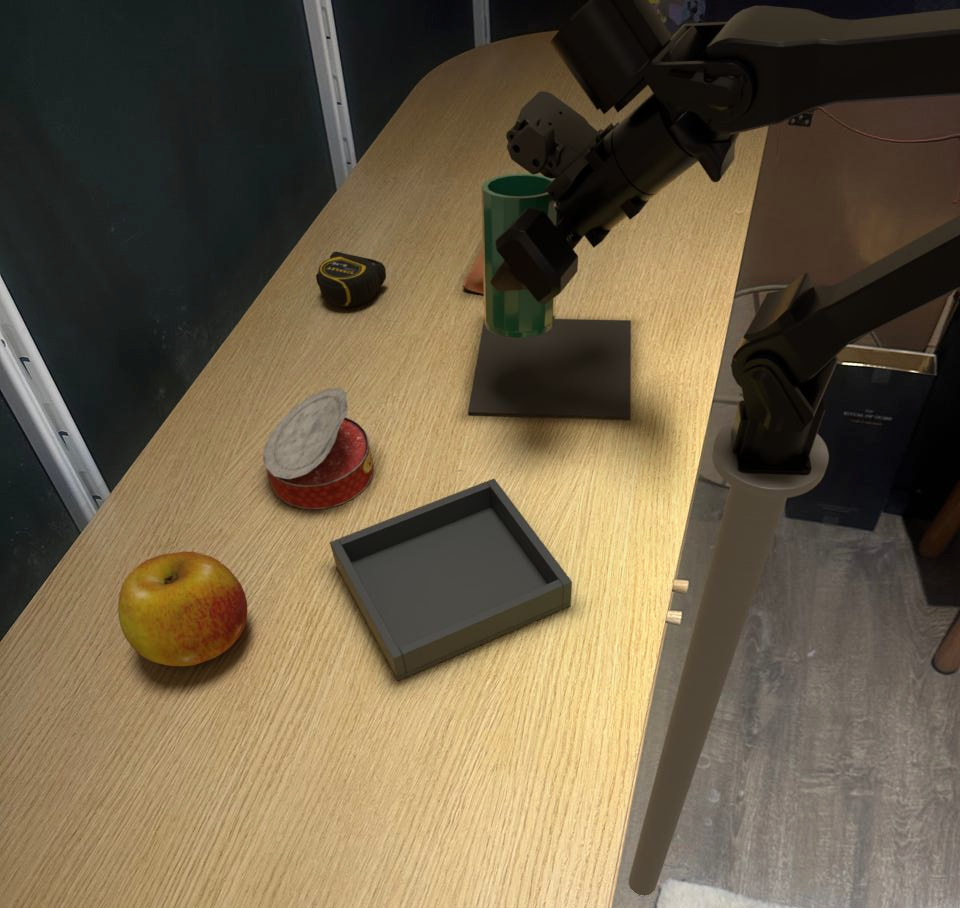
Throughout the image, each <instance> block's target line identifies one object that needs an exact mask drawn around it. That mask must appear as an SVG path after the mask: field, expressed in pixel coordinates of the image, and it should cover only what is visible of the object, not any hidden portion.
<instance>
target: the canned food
mask: <svg viewBox="0 0 960 908" xmlns="http://www.w3.org/2000/svg"><path fill="white" fill-rule="evenodd" d="M347 396H348V395H347V392H346V391H345V390H344V389H343V388H342V387H340V386H337V387H327V388H325V389H322V390H321V391H320V392H317V393H313V394H311V395H309V396H308V397H307V398H306V399H304V400H303V401H301V402H300V403H298V404H296V405H294V406H293V407H292V408H291V410H289V412H287V414H286V415H285V416H284V417H282V418H281V419H280V420H279V421H278V423H277V424H276V426H275V428H274V430H273V431H272V432H271V434H270V435H269V436H268V439H267V441H266V443H265V445H264V448H263V452H262V461H263V465H264V466H265V469H266V472H267V476H268V478H269V481H270V485H271V487H272V490H273V492H274V493H275V494H276V497H278V498H279V499H280V500H281V501H283V502H284V503H285V504H288V505H290V506H292V507H296V508H298V509H304V510H324V509H330V508H334V507H337V506H340V505H343V504H345V503H348V502H350V501H352V500H353V499H354V498H356V497H357V496H359V495H360V494H361V493H362V492H363V491H364V490H365V489H366V488H367V487H368V485H369V484H370V482H371V479H372V478H373V475H374V469H375V466H374V460H373V457H372V451H371V447H370V441H369V436H368V433H367V432H366V430H365V428H363V427H362V426H361V425H360V424H359V423H358V422H357V421H355V420H354V419H351V418H350V417H347V415H348V409H349V408H348V407H349V405H348V400H347V399H348V398H347Z"/></svg>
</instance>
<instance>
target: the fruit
mask: <svg viewBox="0 0 960 908" xmlns="http://www.w3.org/2000/svg"><path fill="white" fill-rule="evenodd" d="M117 602H118V604H117V611H118V613H117V615H118V621H119V625H120V629H121V631H122V634H123V636H124V638H125V641H127V643H128V644H129V646H130V647H131V648H132V649H133V650H134V651H135V652H137V653H138V654H139V655H140V656H142V657H143V658H144V659H146V660H148V661H150V662H153V663H156V664H159V665H165V666H168V667H189V666H195V665H198V664H201V663H205V662H207V661H210V660H213V659H215V658H217V657H219V656H220V655H221V654H223V653H225V652H226V651H227V650H228V649H229V648H230V647H231V646H233V645H235V643H236V642H237V640H238V639H239V638H240V636H241V634H242V632H243V631H244V629H245V627H246V623H247V619H248V600H247V596H246V592H245V590H244V588H243V586H242V584H241V582H240V581H239V580H238V578H237V576H236V575H235V574H234V573H233V572H232V571H231V570H230V568H229V567H227V565H225V564H224V563H222V562H221V561H220V560H219V559H217V558H214V557H213V556H211V555H208V554H205V553H202V552H198V551H197V552H196V551H177V552H172V553H163V554H159V555H156V556H154V557H151V558H148V559H146V560H144V561H143V562H141V563H140V564H139V565H137V566H136V567H134V569H133V570H132V571H131V572H130V573H129V574H128V575H127V577H126V578H125V579H124V581H123V583H122V585H121V588H120V591H119V595H118V601H117Z"/></svg>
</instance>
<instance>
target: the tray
mask: <svg viewBox="0 0 960 908" xmlns="http://www.w3.org/2000/svg"><path fill="white" fill-rule="evenodd" d="M329 546H330V549H331V552H332V556H333V559H334V563H335V567H336V568H337V570H338V572H339V574H340V576H341V578H342V579H343V581H344V583H345V585H346V587H347V589H348V591H349V593H350V594H351V596H352V598H353V600H354V602H355V604H356V606H357V607H358V609H359V611H360V613H361V616H362V617H363V619H364V621H365V622H366V624H367V626H368V628H369V630H370V632H371V634H372V636H373V638H374V639H375V641H376V643H377V645H378V646H379V648H380V650H381V653H382V654H383V657H384V658H385V660H386V661H387V663H388V665H389V667H390V669H391V671H392V673H393V674H394V677H395V678H396V680H397V681H398V682H399V681H401V680H403V679H406V678H409V677H411V676H413V675H415V674H417V673H420V672H422V671H424V670H427V669H429V668H431V667H434V666H436V665H439V664H440V663H443V662H445V661H447V660H450V659H452V658H454V657H457V656H459V655H461V654H463V653H466V652H468V651H470V650H472V649H475V648H477V647H480V646H481V645H483V644H486V643H488V642H490V641H493V640H495V639H497V638H500V637H502V636H504V635H507V634H509V633H512V632H513V631H516V630H518V629H520V628H522V627H525V626H527V625H530V624H532V623H534V622H536V621H538V620H541V619H543V618H545V617H548V616H550V615H553V614H556V613H557V612H560V611H562V610H564V609H566V608H569V607H571V605H572V590H573V581H572V579H571V578H570V577H569V576H568V574H567V573H566V572H565V571H564V569H563V568H562V566H561V565H560V564H559V562H558V560H556V558H555V557H554V555H553V554H552V553H551V552H550V550H549V548H547V546H546V545H545V544H544V542H543V541H542V540H541V539H540V537H539V536H538V534H537V533H536V532H535V531H534V530H533V528H532V527H531V525H530V524H529V522H528V521H527V520H526V519H525V517H524V515H522V513H521V512H520V511H519V509H518V508H517V506H515V504H514V502H513V501H512V500H511V499H510V497H509V495H507V493H506V492H505V490H504V489H503V488H502V487H501V485H500V484H499V483H498V482H497V480H496V479H495V478H492V479H488V480H487V481H483V482H481V483H478V484H476V485H473V486H471V487H468V488H466V489H463V490H460V491H457V492H455V493H452V494H450V495H447V496H445V497H443V498H439V499H437V500H434V501H432V502H430V503H428V504H427V503H426V504H423V505H422V506H419V507H417V508H413V509H411V510H409V511H406V512H403V513H401V514H399V515H396V516H393V517H391V518H388V519H385V520H383V521H381V522H378V523H375V524H373V525H370V526H368V527H365V528H362V529H360V530H357V531H355V532H351V533H349V534H347V535H344V536H342V537H340V538H337V539H335V540H331V541H330V542H329Z"/></svg>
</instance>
